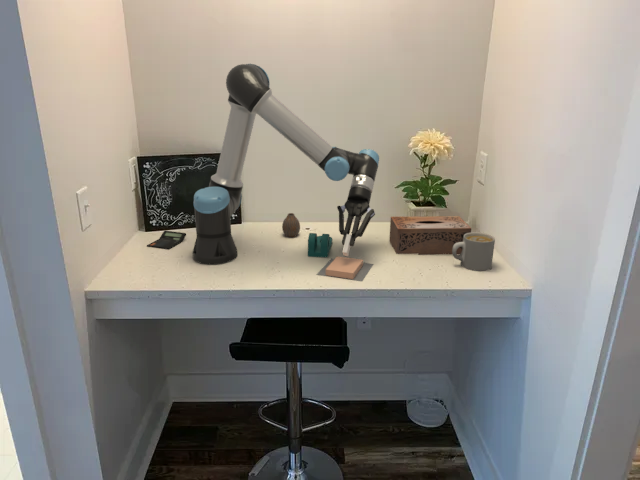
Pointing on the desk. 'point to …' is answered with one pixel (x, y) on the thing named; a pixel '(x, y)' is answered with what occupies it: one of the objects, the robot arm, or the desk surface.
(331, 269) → the tile
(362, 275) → the mat
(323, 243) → the bracket
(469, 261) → the coffee mug
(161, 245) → the calculator
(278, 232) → the desk surface
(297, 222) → the vase
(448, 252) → the tissue box cover
